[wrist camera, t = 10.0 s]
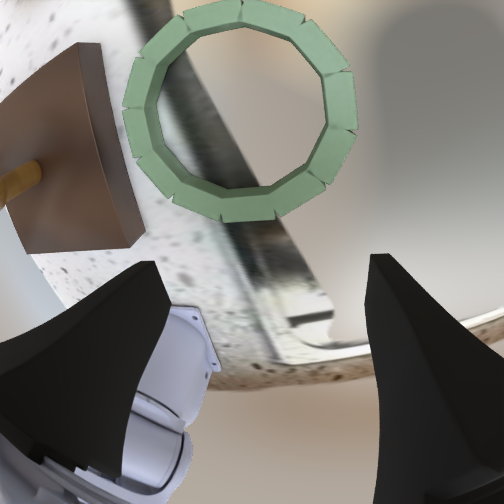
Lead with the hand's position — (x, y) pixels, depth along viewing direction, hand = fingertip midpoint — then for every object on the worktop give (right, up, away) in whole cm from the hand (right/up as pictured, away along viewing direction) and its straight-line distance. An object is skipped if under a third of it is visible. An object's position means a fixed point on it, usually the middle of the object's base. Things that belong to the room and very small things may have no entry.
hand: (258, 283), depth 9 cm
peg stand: (-17, +9, +9) cm, 21 cm away
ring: (-1, +9, +6) cm, 11 cm away
